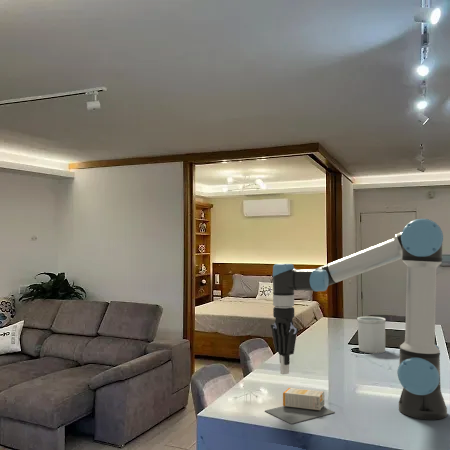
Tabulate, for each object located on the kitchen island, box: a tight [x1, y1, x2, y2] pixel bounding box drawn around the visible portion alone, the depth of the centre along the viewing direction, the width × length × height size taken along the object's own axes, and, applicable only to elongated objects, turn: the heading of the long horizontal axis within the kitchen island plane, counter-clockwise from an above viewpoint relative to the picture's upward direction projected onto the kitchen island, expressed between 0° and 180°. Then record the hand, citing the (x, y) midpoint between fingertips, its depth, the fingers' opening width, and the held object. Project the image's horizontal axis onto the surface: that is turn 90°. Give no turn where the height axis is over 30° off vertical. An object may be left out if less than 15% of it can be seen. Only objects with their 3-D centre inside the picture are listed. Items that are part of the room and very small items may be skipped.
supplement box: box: [282, 387, 325, 410], centre depth 162 cm, size 8×5×13 cm
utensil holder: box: [356, 315, 386, 354], centre depth 252 cm, size 15×15×18 cm
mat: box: [264, 405, 335, 425], centre depth 157 cm, size 14×19×1 cm
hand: (284, 373), depth 164 cm, fingers closed
